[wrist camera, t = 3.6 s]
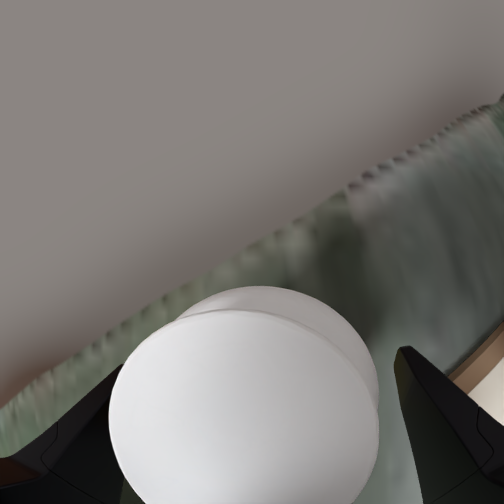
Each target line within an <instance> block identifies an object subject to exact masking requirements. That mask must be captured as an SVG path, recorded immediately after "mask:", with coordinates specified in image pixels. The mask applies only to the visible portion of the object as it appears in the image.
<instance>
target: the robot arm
mask: <svg viewBox="0 0 504 504" xmlns="http://www.w3.org/2000/svg"><path fill="white" fill-rule="evenodd" d="M123 366H124V364H121V365H119V366H118V367H117V368H116V369H115V370H114V371H113V372H111V373H110V374H109V375H108V376H107V377H106V378H105V379H104V380H102V381H101V382H100V383H99V384H98V385H97V386H96V387H95V388H93V389H92V390H91V391H90V392H89V393H88V394H87V395H86V396H84V397H83V398H82V399H81V400H80V401H79V402H78V403H77V404H75V405H74V406H73V407H72V408H71V409H70V410H69V411H68V412H66V413H65V414H64V415H63V416H62V417H61V418H60V419H59V420H58V421H56V422H55V423H54V424H53V425H52V426H51V427H50V428H48V429H47V430H46V431H45V432H44V433H42V434H41V435H40V436H39V437H37V438H36V439H35V440H33V441H32V442H31V443H29V444H28V445H26V446H25V447H24V448H22V449H21V450H19V451H18V452H17V453H15V454H14V455H11V456H9V457H5V458H0V504H119V503H120V497H121V492H122V486H123V481H124V474H123V472H122V470H121V468H120V466H119V463H118V461H117V458H116V455H115V452H114V449H113V445H112V442H111V436H110V430H109V406H110V400H111V395H112V390H113V387H114V385H115V382H116V380H117V377H118V375H119V373H120V371H121V369H122V367H123ZM394 373H395V378H396V383H397V389H398V394H399V400H400V406H401V410H402V414H403V418H404V421H405V425H406V429H407V432H408V436H409V440H410V444H411V448H412V452H413V456H414V460H415V465H416V469H417V474H418V478H419V483H420V488H421V493H422V498H423V504H504V426H503V425H502V424H501V423H499V422H498V421H497V420H495V419H494V418H493V417H492V416H491V415H490V414H488V413H487V412H486V411H485V410H484V409H483V408H482V407H481V406H479V405H478V404H477V403H476V402H475V401H474V400H473V399H472V398H470V397H469V396H468V395H467V394H466V393H465V392H464V391H463V390H462V389H460V388H459V387H458V386H457V385H456V384H455V383H454V382H452V381H451V380H450V379H449V378H448V377H447V376H446V375H444V374H443V373H442V372H441V371H440V370H439V369H438V368H436V367H435V366H434V365H433V364H432V363H431V362H429V361H428V360H427V359H426V358H425V357H424V356H422V355H421V354H420V353H419V352H418V351H417V350H415V349H414V348H413V347H412V346H403V347H400V348H399V349H398V351H397V354H396V358H395V361H394ZM478 406H479V407H478Z"/></svg>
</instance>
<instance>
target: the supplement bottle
mask: <svg viewBox="0 0 504 504" xmlns="http://www.w3.org/2000/svg"><path fill="white" fill-rule="evenodd" d="M378 405H379V386H378V379H377V373H376V369H375V366H374V363H373V360H372V358H371V355H370V353H369V351H368V349H367V347H366V345H365V343H364V342H363V340H362V339H361V337H360V336H359V334H358V333H357V332H356V331H355V329H354V328H353V327H352V326H351V325H350V324H349V323H348V322H347V321H346V320H345V319H344V318H343V317H342V316H341V315H340V314H338V313H337V312H336V311H335V310H333V309H332V308H331V307H329V306H328V305H326V304H324V303H323V302H321V301H319V300H317V299H315V298H313V297H310V296H308V295H305V294H303V293H300V292H297V291H294V290H289V289H284V288H278V287H271V286H250V287H242V288H235V289H231V290H227V291H223V292H221V293H218V294H215V295H213V296H210V297H208V298H206V299H204V300H202V301H200V302H199V303H197V304H195V305H194V306H192V307H191V308H189V309H188V310H186V311H185V312H184V313H183V314H182V315H180V316H179V317H178V318H177V319H176V320H175V321H173V322H171V323H169V324H167V325H165V326H164V327H162V328H161V329H159V330H157V331H156V332H154V333H152V334H151V335H150V336H149V337H148V338H146V339H145V340H144V341H143V342H142V343H141V344H140V345H139V346H138V347H137V348H136V349H135V350H134V352H133V353H132V354H131V355H130V356H129V358H128V359H127V361H126V362H125V364H124V366H123V367H122V369H121V371H120V373H119V375H118V377H117V380H116V382H115V385H114V387H113V390H112V395H111V400H110V406H109V430H110V436H111V442H112V445H113V449H114V452H115V455H116V458H117V461H118V463H119V466H120V468H121V470H122V472H123V474H124V476H125V478H126V479H127V481H128V482H129V484H130V485H131V487H132V488H133V489H134V491H135V492H136V493H137V494H138V496H139V497H140V498H141V499H142V500H143V501H144V502H145V503H146V504H352V503H353V502H354V501H355V499H356V498H357V496H358V495H359V494H360V492H361V491H362V489H363V488H364V486H365V484H366V483H367V481H368V479H369V477H370V474H371V472H372V470H373V467H374V465H375V462H376V457H377V452H378V445H379V419H378V414H377V411H378Z"/></svg>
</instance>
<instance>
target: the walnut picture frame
mask: <svg viewBox="0 0 504 504" xmlns="http://www.w3.org/2000/svg"><path fill="white" fill-rule="evenodd" d="M448 378H449V379H450V380H451V381H452V382H454V383H455V384H456V385H457V386H458V387H459V388H460V389H462V390H463V391H464V392H465V393H466V394H467V395H468V396H469V397H470V398H472V399H473V400H474V401H475V402H476V403H477V404H478V405H479V406H481V407H482V408H483V409H484V410H485V411H486V412H487V413H488V414H490V415H491V416H492V417H493V418H494V419H495V420H497V421H498V422H499V423H501V424H502V425H503V426H504V321H503V322H502V323H501V324H500V325H499V327H498V328H497V329H496V330H495V331H494V332H493V333H492V334H491V335H490V336H489V337H488V339H487V340H486V341H485V342H484V343H483V344H482V345H481V346H480V347H479V348H478V349H477V350H476V351H475V352H474V353H473V354H472V355H471V356H470V357H469V358H468V359H467V360H466V361H464V362H463V363H462V364H461V365H460V366H459V367H458V368H457V369H456V370H455V371H454V372H452V373H451V374H450V375H449V376H448ZM479 406H478V407H479Z"/></svg>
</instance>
